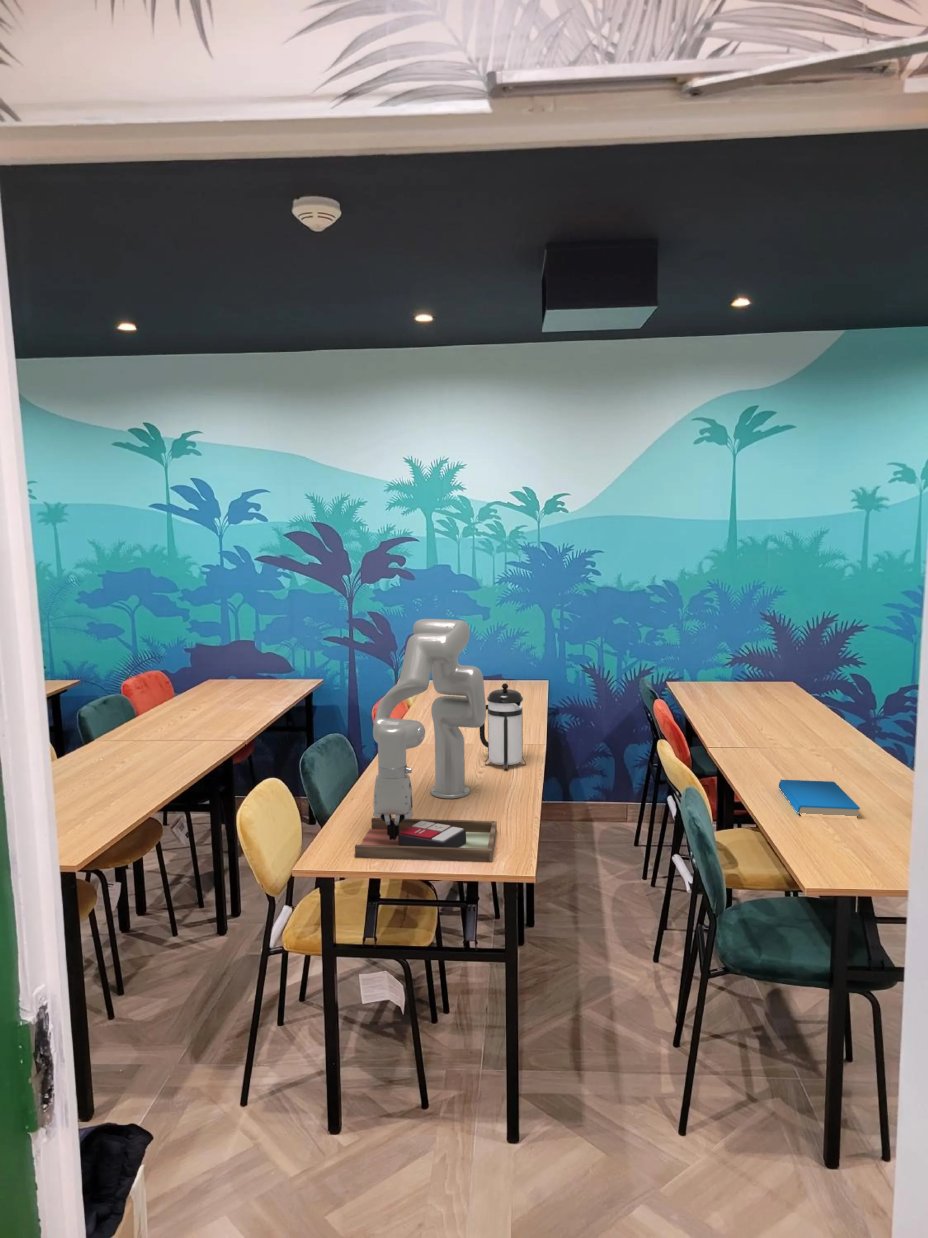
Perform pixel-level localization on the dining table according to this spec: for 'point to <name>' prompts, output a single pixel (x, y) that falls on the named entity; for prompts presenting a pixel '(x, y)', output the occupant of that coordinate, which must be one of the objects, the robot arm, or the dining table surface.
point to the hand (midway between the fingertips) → (393, 838)
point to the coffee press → (504, 727)
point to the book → (818, 797)
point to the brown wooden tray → (474, 849)
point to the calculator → (432, 835)
